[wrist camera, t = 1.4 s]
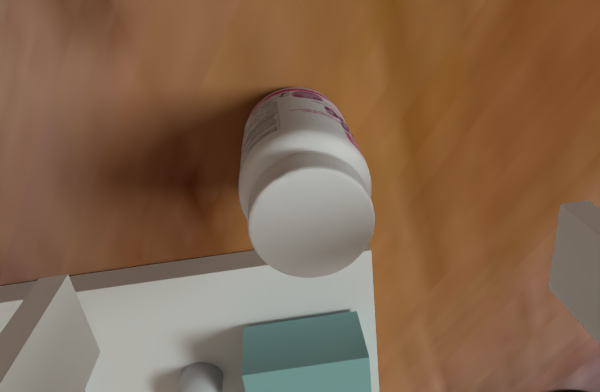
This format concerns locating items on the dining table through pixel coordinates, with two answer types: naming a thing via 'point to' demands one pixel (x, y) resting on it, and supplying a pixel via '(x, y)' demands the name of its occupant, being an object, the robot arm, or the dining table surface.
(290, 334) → the cover
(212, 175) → the dining table surface
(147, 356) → the housing board
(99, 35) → the dining table surface
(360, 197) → the pill bottle
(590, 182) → the dining table surface
